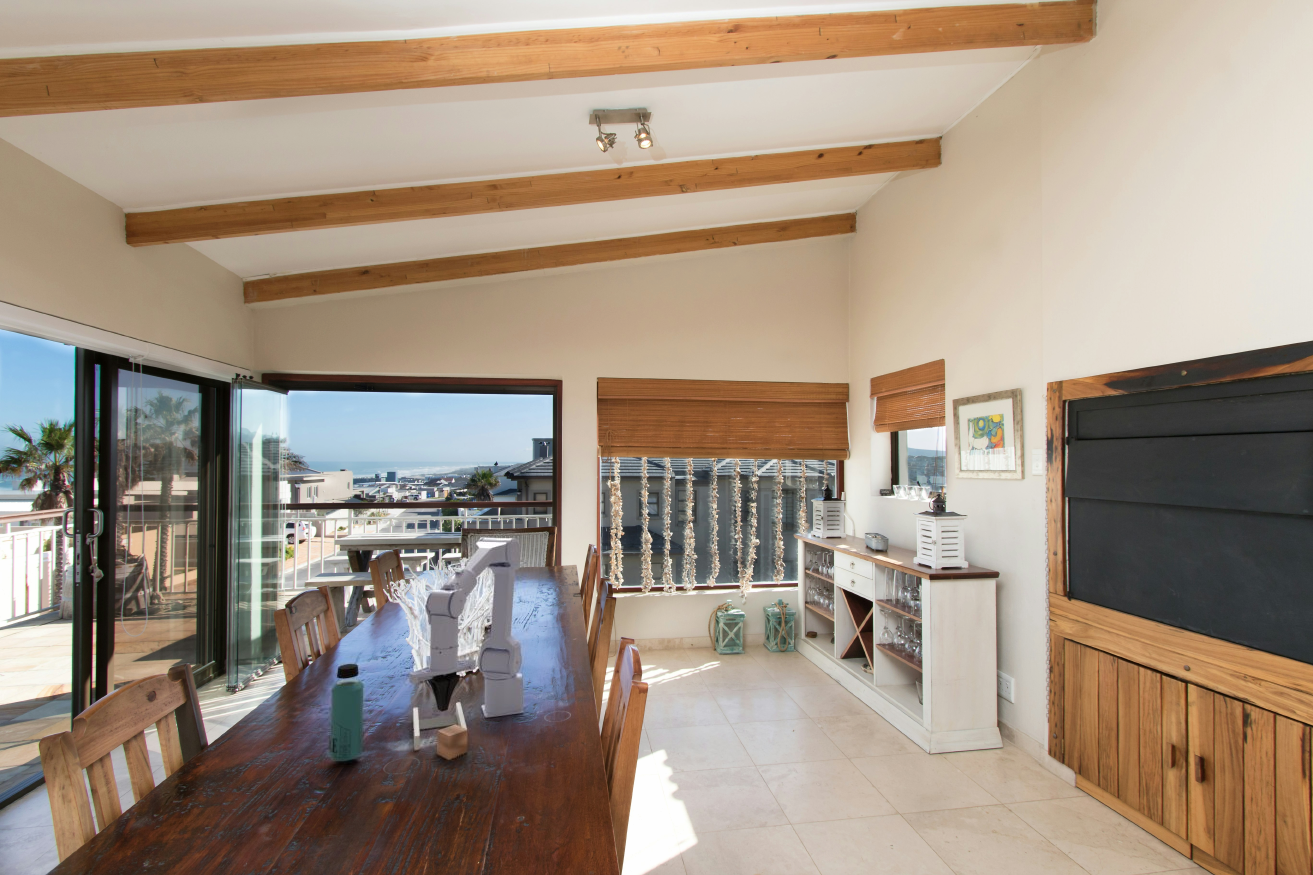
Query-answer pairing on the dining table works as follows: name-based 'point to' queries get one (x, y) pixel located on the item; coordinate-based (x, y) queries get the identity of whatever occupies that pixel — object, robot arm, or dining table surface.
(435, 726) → the channel
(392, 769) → the dining table surface
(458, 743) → the block
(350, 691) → the beverage bottle
